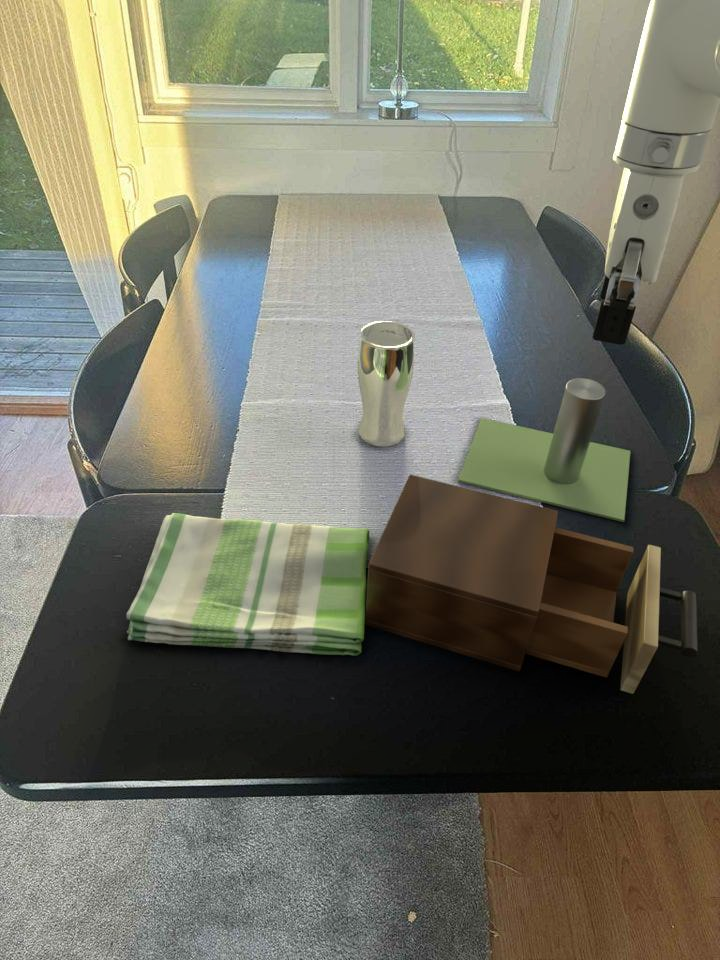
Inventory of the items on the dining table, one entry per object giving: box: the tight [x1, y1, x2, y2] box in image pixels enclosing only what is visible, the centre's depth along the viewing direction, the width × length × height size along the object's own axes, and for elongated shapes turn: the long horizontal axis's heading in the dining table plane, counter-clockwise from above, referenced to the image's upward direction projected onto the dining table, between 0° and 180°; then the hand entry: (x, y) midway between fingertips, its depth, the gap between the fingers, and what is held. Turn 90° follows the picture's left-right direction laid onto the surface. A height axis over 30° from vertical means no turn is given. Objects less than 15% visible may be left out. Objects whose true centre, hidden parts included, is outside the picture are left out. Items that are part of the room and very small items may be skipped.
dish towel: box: [125, 512, 371, 657], centre depth 72 cm, size 17×23×4 cm
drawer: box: [525, 526, 699, 695], centre depth 67 cm, size 19×12×7 cm, turn 71°
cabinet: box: [365, 474, 559, 672], centre depth 70 cm, size 16×14×9 cm
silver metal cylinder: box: [544, 377, 606, 484], centre depth 84 cm, size 4×4×13 cm
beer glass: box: [357, 320, 415, 448], centre depth 89 cm, size 7×7×15 cm
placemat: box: [457, 417, 631, 523], centre depth 90 cm, size 20×14×1 cm
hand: (611, 319), depth 74 cm, fingers open, 9 cm apart
